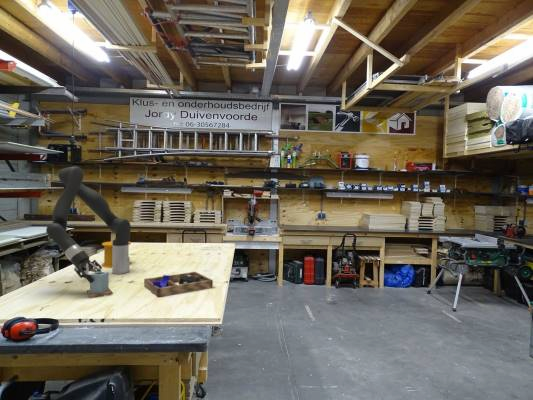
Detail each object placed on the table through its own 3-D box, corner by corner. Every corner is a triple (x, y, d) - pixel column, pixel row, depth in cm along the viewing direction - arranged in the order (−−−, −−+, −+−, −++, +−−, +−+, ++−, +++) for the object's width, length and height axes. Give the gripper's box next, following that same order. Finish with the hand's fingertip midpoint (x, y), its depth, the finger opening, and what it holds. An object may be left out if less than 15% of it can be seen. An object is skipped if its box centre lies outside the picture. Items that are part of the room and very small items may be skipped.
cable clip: (161, 286, 184) (161, 275, 184) (169, 286, 184) (169, 275, 183) (150, 293, 173) (150, 281, 172) (158, 293, 172) (158, 282, 171)
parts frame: (195, 278, 201) (195, 271, 201) (212, 287, 184) (212, 280, 184) (144, 286, 184) (144, 278, 184) (157, 297, 166) (157, 288, 166)
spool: (133, 265, 230) (133, 243, 229) (104, 269, 219) (104, 245, 219) (127, 260, 244) (127, 239, 244) (99, 263, 234) (99, 241, 234)
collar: (97, 289, 173) (97, 271, 173) (108, 289, 172) (108, 272, 172) (89, 292, 167) (89, 274, 167) (101, 293, 166) (101, 275, 166)
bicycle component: (187, 276, 197) (174, 284, 183) (192, 265, 196) (178, 273, 182) (205, 286, 195) (193, 295, 180) (209, 275, 194) (197, 283, 179)
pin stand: (108, 289, 177) (108, 273, 177) (112, 294, 169) (112, 278, 169) (86, 292, 171) (86, 276, 171) (90, 298, 163) (90, 281, 163)
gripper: (71, 253, 163) (93, 278, 162) (91, 248, 178) (111, 271, 176) (61, 263, 164) (83, 288, 163) (81, 257, 179) (102, 280, 177)
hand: (98, 279), depth 170 cm, fingers open, 8 cm apart
